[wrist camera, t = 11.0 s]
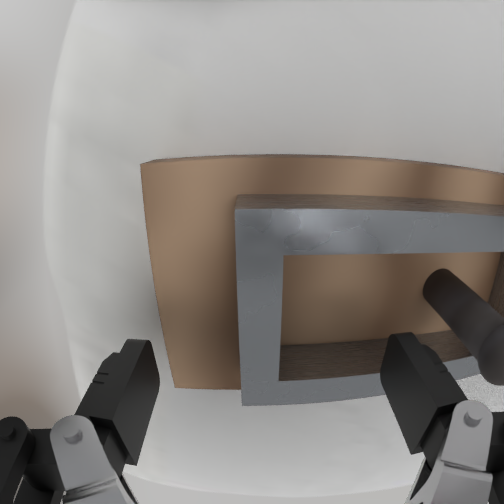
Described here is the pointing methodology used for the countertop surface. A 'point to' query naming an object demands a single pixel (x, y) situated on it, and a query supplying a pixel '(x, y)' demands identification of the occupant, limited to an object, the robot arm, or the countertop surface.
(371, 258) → the board
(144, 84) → the countertop surface
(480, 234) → the grey picture frame
